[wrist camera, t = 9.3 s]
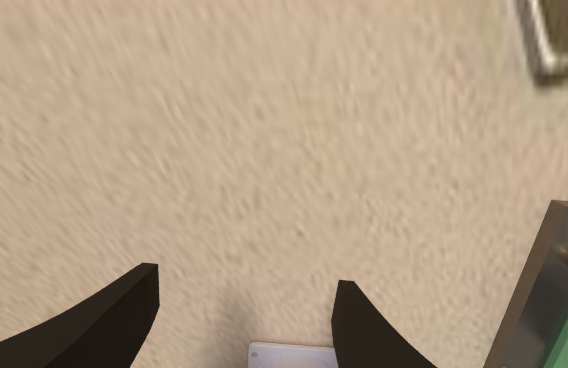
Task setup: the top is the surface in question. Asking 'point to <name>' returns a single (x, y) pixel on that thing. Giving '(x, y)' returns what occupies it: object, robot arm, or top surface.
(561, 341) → the board
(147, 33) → the top surface
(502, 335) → the chassis plate
